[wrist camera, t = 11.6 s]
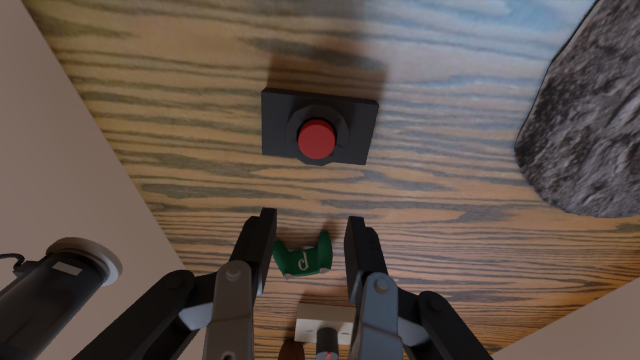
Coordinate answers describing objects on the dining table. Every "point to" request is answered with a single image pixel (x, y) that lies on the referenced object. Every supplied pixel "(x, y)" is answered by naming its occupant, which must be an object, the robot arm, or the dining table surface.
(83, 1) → the dining table surface
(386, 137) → the dining table surface
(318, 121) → the button
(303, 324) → the stove console
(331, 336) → the dial
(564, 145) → the worn metal disc
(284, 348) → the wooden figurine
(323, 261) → the gaming controller
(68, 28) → the dining table surface
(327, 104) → the black switch housing
